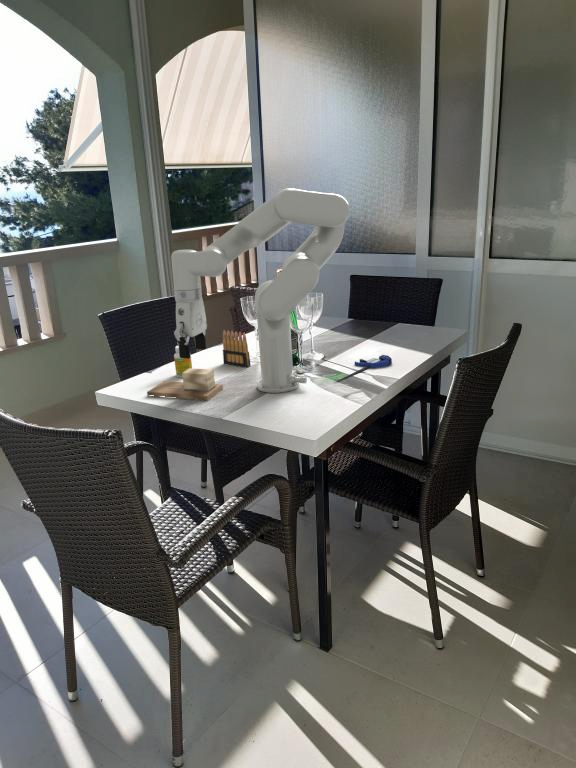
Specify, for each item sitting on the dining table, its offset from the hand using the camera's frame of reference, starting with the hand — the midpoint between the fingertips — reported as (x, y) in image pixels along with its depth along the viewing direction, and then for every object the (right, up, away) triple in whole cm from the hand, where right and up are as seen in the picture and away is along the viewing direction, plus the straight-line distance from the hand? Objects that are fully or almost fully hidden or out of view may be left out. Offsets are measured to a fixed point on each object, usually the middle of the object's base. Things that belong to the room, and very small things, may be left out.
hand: (193, 353), depth 176 cm
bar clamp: (+48, -6, +14) cm, 51 cm away
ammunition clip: (+10, -3, +30) cm, 32 cm away
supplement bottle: (-6, -6, +23) cm, 25 cm away
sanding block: (+1, -10, +4) cm, 11 cm away
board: (-3, -11, +6) cm, 13 cm away
